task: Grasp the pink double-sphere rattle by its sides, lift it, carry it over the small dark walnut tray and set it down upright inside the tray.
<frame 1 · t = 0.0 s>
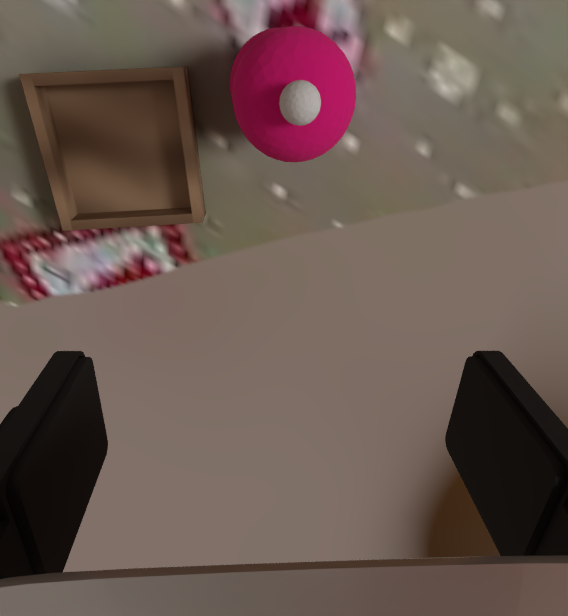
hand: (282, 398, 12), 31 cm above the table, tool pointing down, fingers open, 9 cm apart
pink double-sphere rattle: (277, 84, 37), on the table
walnut tray: (126, 148, 38), on the table
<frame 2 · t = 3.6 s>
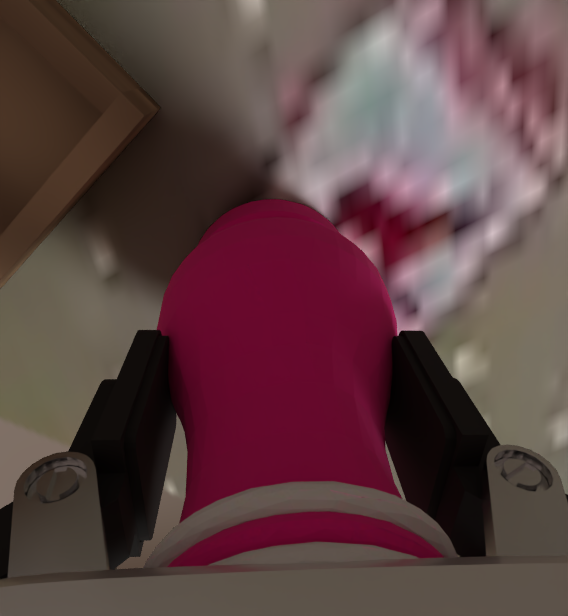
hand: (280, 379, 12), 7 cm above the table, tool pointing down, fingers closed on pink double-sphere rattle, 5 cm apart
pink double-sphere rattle: (271, 274, 18), on the table, touching gripper
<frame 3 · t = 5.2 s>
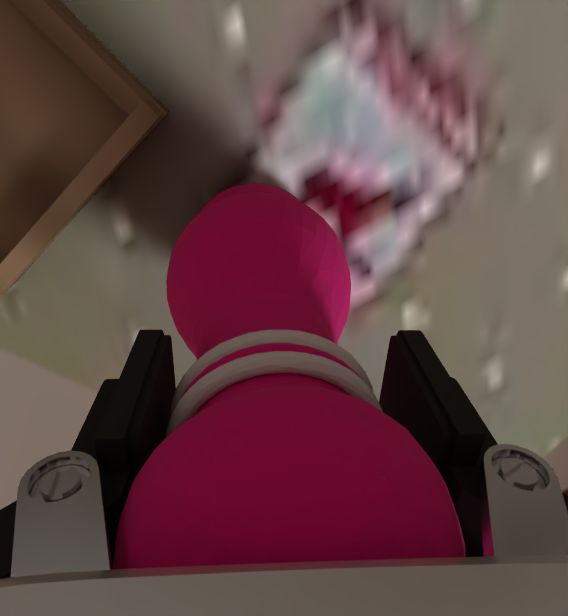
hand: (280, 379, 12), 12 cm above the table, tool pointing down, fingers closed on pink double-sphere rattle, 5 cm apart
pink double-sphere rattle: (255, 246, 22), point 1 cm above the table, touching gripper
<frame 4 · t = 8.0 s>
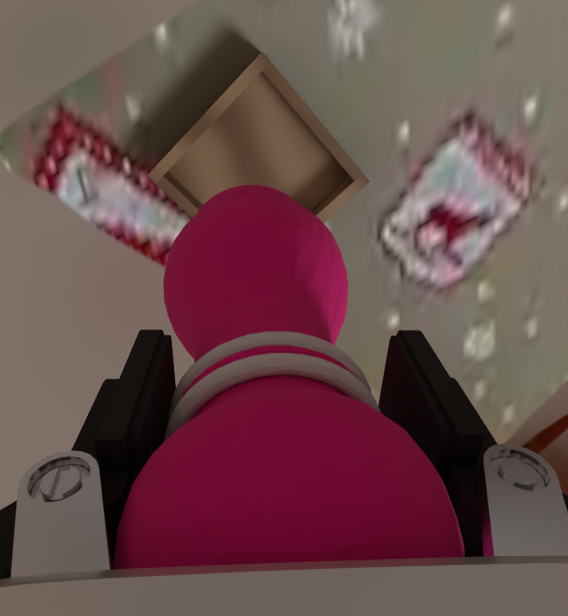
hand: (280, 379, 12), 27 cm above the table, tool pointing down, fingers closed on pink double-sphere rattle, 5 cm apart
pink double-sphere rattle: (251, 247, 22), point 16 cm above the table, touching gripper
walnut tray: (259, 171, 36), on the table
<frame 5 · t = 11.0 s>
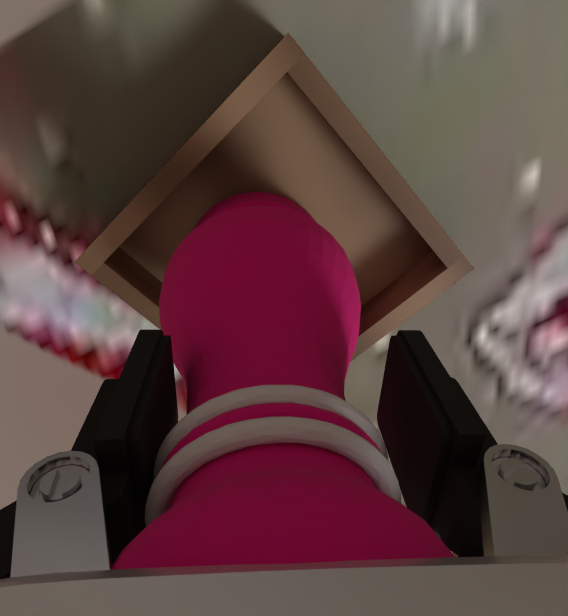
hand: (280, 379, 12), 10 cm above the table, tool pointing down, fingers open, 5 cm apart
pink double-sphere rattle: (257, 258, 21), resting on walnut tray, touching gripper
walnut tray: (277, 243, 21), on the table
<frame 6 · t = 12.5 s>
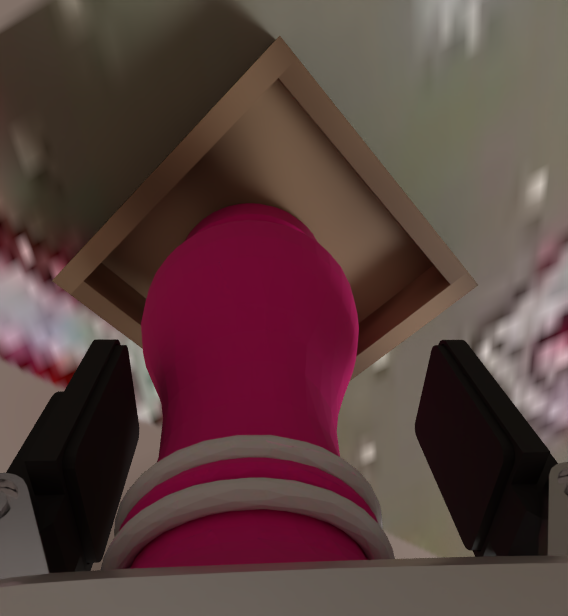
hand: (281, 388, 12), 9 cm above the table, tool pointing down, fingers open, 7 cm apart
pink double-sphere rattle: (251, 272, 20), resting on walnut tray
walnut tray: (270, 257, 20), on the table
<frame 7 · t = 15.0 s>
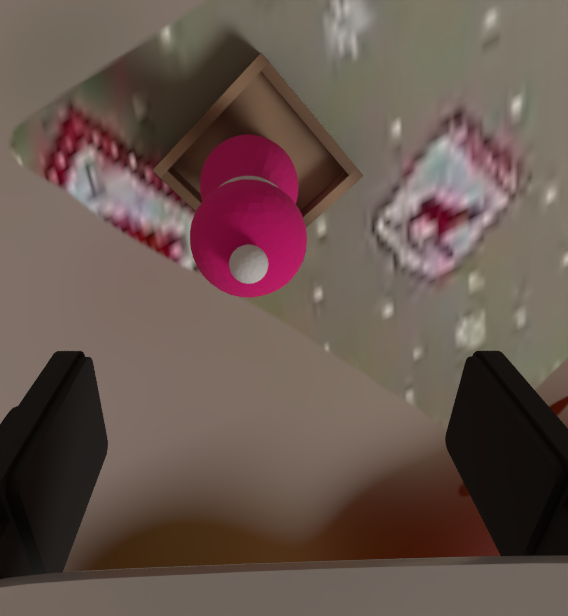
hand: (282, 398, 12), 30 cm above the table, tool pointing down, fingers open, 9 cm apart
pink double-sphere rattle: (249, 173, 38), resting on walnut tray
walnut tray: (259, 166, 38), on the table
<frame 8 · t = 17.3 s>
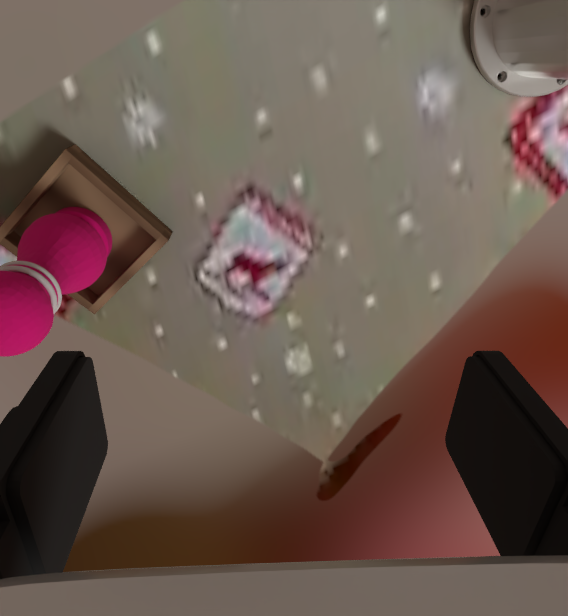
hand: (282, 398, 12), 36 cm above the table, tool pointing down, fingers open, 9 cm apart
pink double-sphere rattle: (81, 236, 46), resting on walnut tray
walnut tray: (89, 230, 46), on the table
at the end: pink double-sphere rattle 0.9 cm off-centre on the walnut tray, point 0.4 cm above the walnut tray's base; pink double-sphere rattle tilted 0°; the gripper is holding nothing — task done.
